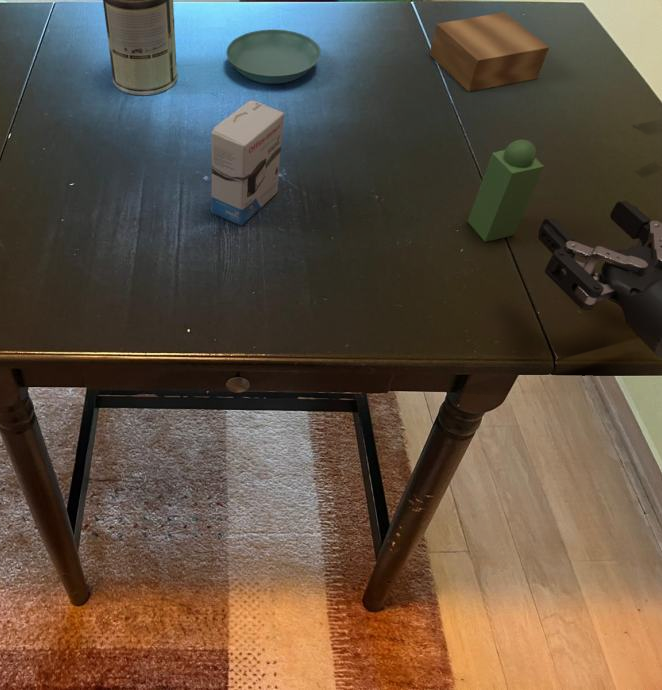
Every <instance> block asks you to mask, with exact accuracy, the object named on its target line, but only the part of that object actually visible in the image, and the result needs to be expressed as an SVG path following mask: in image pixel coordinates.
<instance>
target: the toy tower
mask: <svg viewBox="0 0 662 690" xmlns="http://www.w3.org/2000/svg"><path fill="white" fill-rule="evenodd" d="M536 156H537V150H536V146H535V145H534V144H533V142H531V141H530V140H527V139H516V140H514V141H512V142H511V143H510V144H508V145H507V146H506V148H505V149H503V150H499V151H494V152H492V153H491V156H490V158H489V161H488V163H487V166H486V169H485V172H484V174H483V178H482V180H481V183H480V185H479V188H478V191H477V193H476V197H475V199H474V202H473V205H472V208H471V210H470V214H469V216H468V219H467V223H468V224H469V225H470V227H471V228H473V230H474V231H475V233H477V235H478V236H479V237H480V238H481V240H483V242H485V243H487V242H491V241H496V240H499V239H504V238H507V237H513V236H514V235H515V233H516V231H517V229H518V226H519V225H520V222H521V220H522V217H523V215H524V213H525V210H526V208H527V206H528V204H529V203H530V199H531V197H532V195H533V193H534V190H535V188H536V186H537V183H538V181H539V179H540V177H541V174H542V172H543V170H544V167H545V166H544V164H542V162H540V161H539V159H537V158H536Z"/></svg>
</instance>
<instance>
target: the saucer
mask: <svg viewBox="0 0 662 690" xmlns="http://www.w3.org/2000/svg"><path fill="white" fill-rule="evenodd" d="M321 56H322V51H321V48H320V45H319V44H318V43H317V42H316V41H315V40H314V39H313V38H311V37H309V36H307V35H305V34H303V33H299V32H296V31H291V30H285V29H262V30H261V29H260V30H254V31H250V32H246V33H244V34H242V35H239V36H238V37H236V38H234V39H233V40H232V41H231V42H230V43H229V44H228V46H227V47H226V57H227V59H228V61H229V63H230V64H231V65H232V66H233V68H234V69H235V70H237V72H238V73H240V74H241V75H242V76H243V77H245V78H247V79H249V80H251V81H253V82H256V83H262V84H269V85H270V84H272V85H275V84H276V85H277V84H278V85H279V84H284V83H289V82H293V81H296V80H297V79H300V78H301V77H303V76H304V75H306V74H307V73H309V72H311V70H312V69H313V68H314V67H315V66H316V65H317V63H318V62H319V61H320V59H321Z"/></svg>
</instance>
